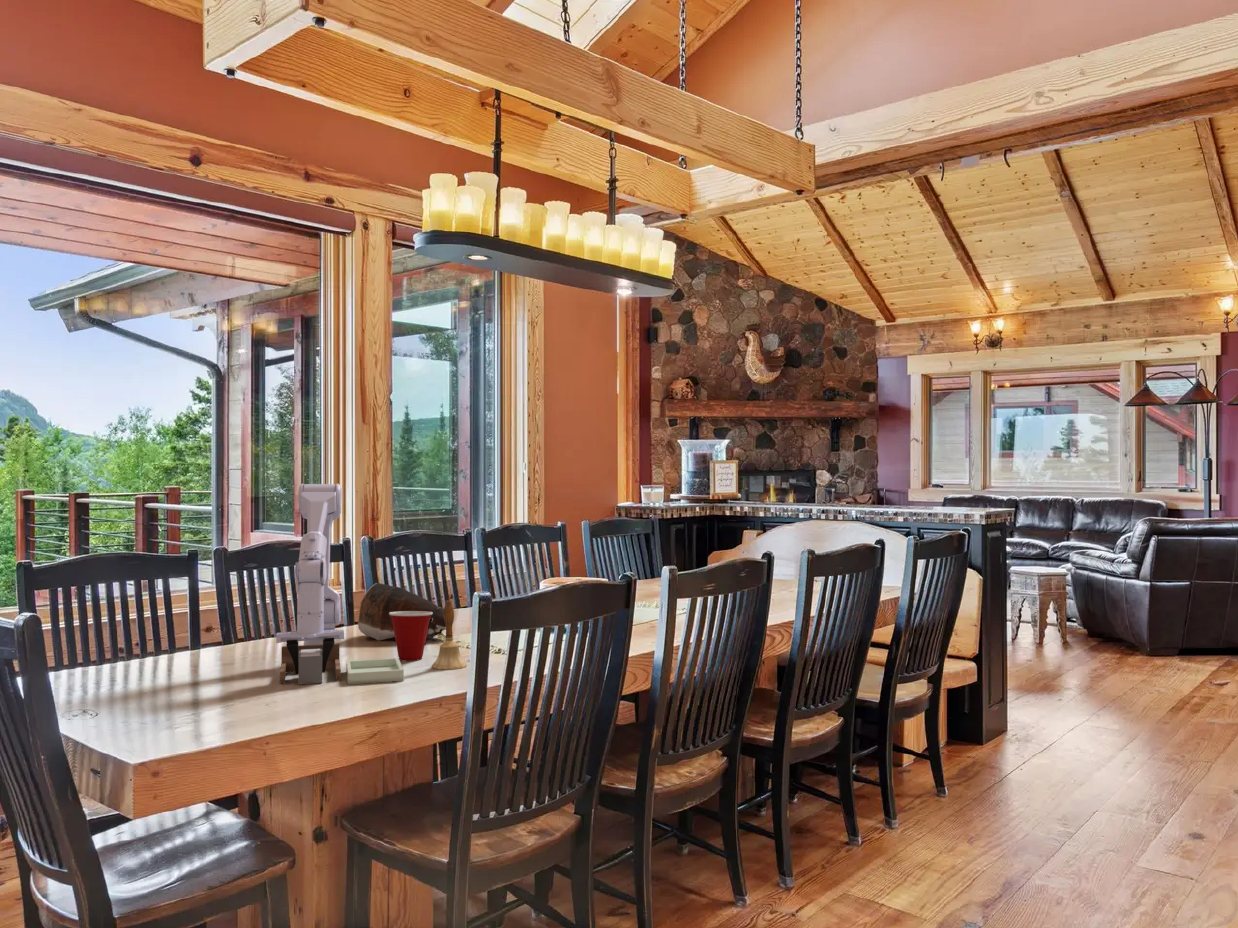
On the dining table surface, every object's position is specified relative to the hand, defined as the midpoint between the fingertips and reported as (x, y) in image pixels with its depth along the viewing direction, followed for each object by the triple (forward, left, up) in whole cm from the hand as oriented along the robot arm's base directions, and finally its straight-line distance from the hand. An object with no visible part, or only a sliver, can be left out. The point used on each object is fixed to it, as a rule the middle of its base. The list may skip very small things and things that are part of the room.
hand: (310, 672), depth 215 cm
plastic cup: (-18, +24, -2) cm, 30 cm away
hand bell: (-6, +32, -2) cm, 33 cm away
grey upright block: (0, 0, -2) cm, 2 cm away
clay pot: (-46, +26, -2) cm, 53 cm away
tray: (0, +14, -2) cm, 14 cm away
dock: (-4, 0, -2) cm, 4 cm away
